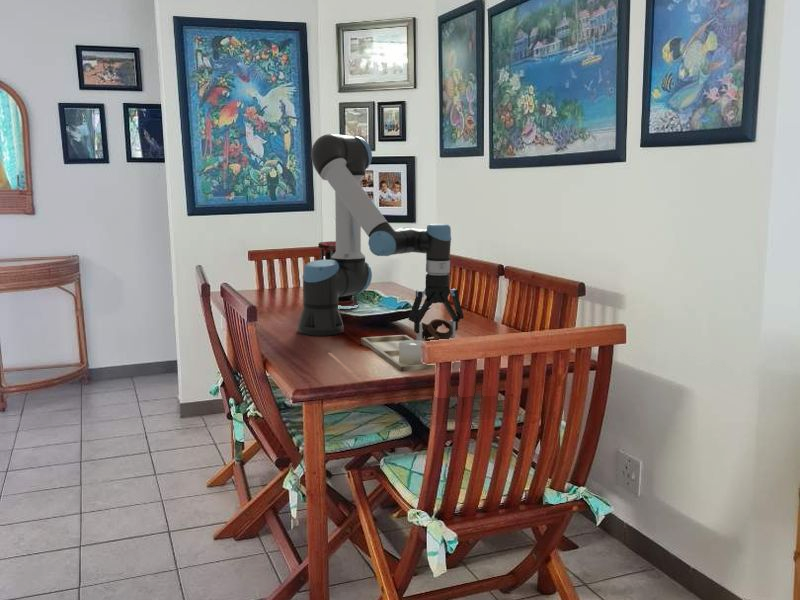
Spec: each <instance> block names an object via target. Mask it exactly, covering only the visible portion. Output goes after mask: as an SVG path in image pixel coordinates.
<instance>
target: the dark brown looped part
mask: <svg viewBox="0 0 800 600" xmlns="http://www.w3.org/2000/svg"><path fill="white" fill-rule="evenodd" d="M421 323H422V340H425V339H426V340H427V339H428V338H433V340H439V339H448V340H449V337H451V336H452V327H451V325H450V322H448V321H446V320H444V319H439V318H436V319H432V320H431V321H430V322H429V323H428V324H427V323H425V322H421ZM443 325H444V326H445V328H446V329H448V330H447V331H446V332H440V331H438V328H439V327H442V326H443Z"/></svg>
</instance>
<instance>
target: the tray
mask: <svg viewBox="0 0 800 600" xmlns="http://www.w3.org/2000/svg"><path fill="white" fill-rule="evenodd" d="M405 340H415V339H414V338H412V337H410V336H408V335H407V334H398V335H397V334H396V335H395V334H394V335H382V336H381V335H380V336H379V335H378V336H367V337H360V344H361V345H362V346H363V347H368V348H369V349H370V350H371V351H373V352H374V353H376V354H377V355H378V356H380V357H381V358H383V360H385V361H387V362H388V363H389V364H390V365H392V366H393V367H394V368H396V369H398V370H399V371H400V372H413V371H414V372H415V371H424V370H435V369H434V368H435V365H427V364H419V365H408V364H403V363H401V362H399V343H400V342H401V341H405Z"/></svg>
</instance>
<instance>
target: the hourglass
mask: <svg viewBox="0 0 800 600" xmlns="http://www.w3.org/2000/svg"><path fill="white" fill-rule="evenodd" d="M317 246H318V248H319V249H320V260H331V256H332V255H333V254H334V253H335V252H336V240H335V241H332V240H331V241H321V242H318V245H317ZM324 252H325V254H324ZM324 257H325V258H324ZM353 296H354V298H353ZM358 304H359V305H360V301H358V294H355V295H348V296H342V297H338V305H341V306H354V305H358Z"/></svg>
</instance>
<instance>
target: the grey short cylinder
mask: <svg viewBox="0 0 800 600" xmlns="http://www.w3.org/2000/svg"><path fill="white" fill-rule="evenodd" d="M424 341H425V340H423V339H422V340H416V339H414V340H405V341H401V342H400V343H399V362H401V363H403V364H408V365H419V364H423V363H422V362H421V358H422V354H421V346H422V343H423V342H424Z"/></svg>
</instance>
